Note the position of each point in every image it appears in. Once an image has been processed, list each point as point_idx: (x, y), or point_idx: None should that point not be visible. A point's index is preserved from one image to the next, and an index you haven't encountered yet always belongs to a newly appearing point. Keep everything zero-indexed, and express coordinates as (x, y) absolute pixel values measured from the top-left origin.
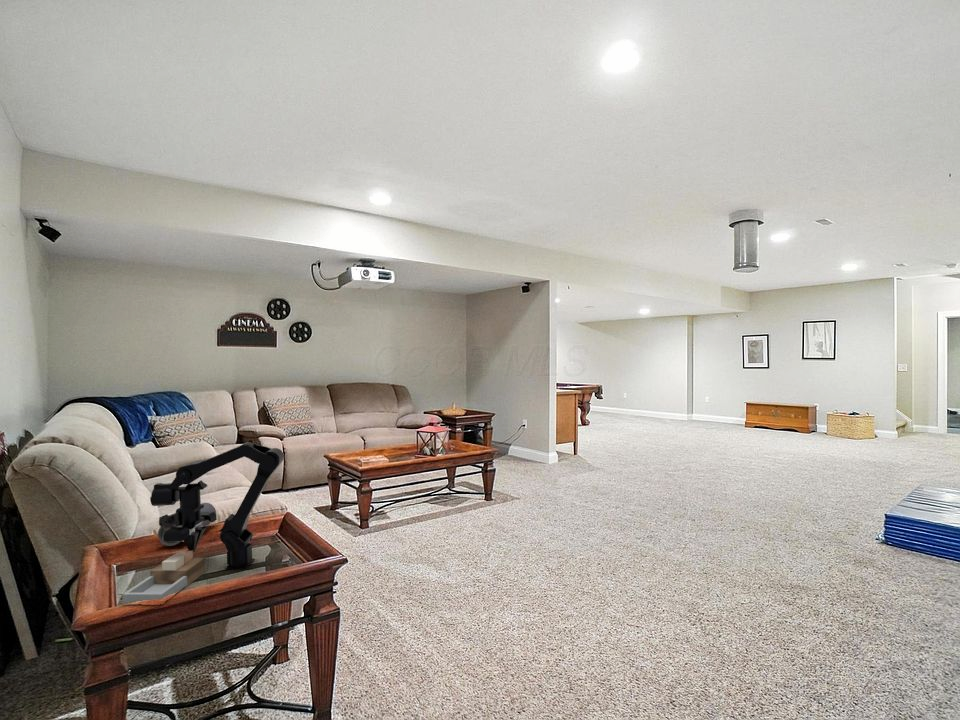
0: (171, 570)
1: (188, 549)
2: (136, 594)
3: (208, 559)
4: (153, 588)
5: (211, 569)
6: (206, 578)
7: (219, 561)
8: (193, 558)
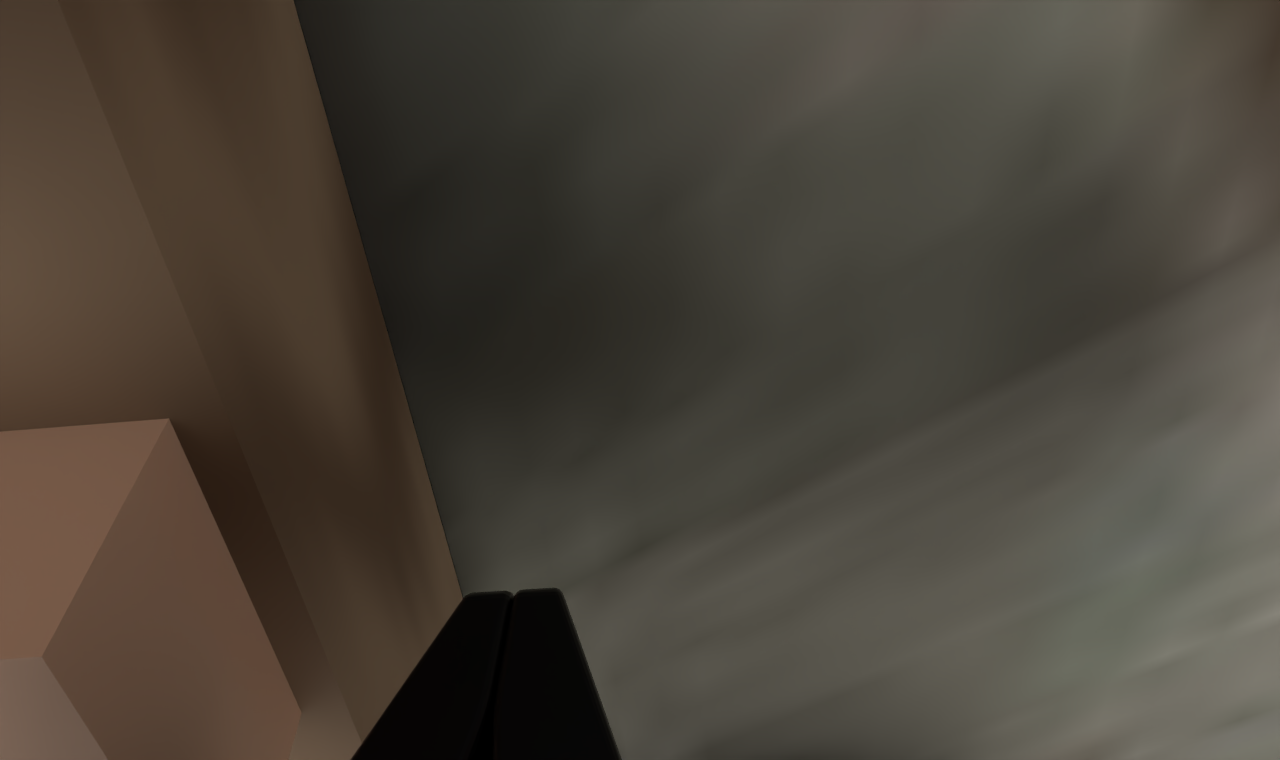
0: None
1: (396, 708)
2: None
3: (1128, 309)
4: None
5: (594, 630)
6: None
7: (972, 570)
8: (308, 720)
